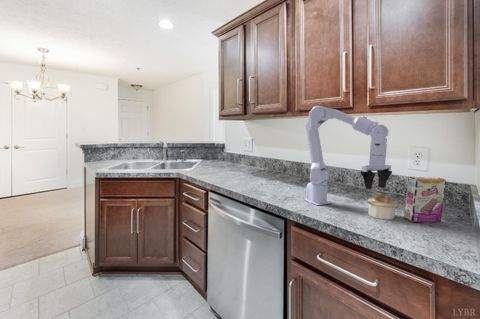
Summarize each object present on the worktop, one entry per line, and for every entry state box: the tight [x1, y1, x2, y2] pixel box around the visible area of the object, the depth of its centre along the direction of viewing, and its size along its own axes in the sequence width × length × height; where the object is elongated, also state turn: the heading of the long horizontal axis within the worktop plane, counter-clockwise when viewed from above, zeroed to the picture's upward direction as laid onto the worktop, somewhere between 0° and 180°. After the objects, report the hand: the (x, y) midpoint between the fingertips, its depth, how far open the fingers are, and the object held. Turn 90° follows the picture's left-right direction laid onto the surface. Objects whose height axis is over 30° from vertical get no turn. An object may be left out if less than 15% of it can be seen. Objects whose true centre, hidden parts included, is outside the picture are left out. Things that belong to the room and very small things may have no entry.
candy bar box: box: [403, 176, 447, 223], centre depth 94 cm, size 11×5×16 cm, turn 92°
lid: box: [367, 192, 399, 208], centre depth 99 cm, size 10×10×4 cm
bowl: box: [367, 203, 396, 220], centre depth 100 cm, size 9×9×5 cm
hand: (375, 188), depth 103 cm, fingers open, 7 cm apart
